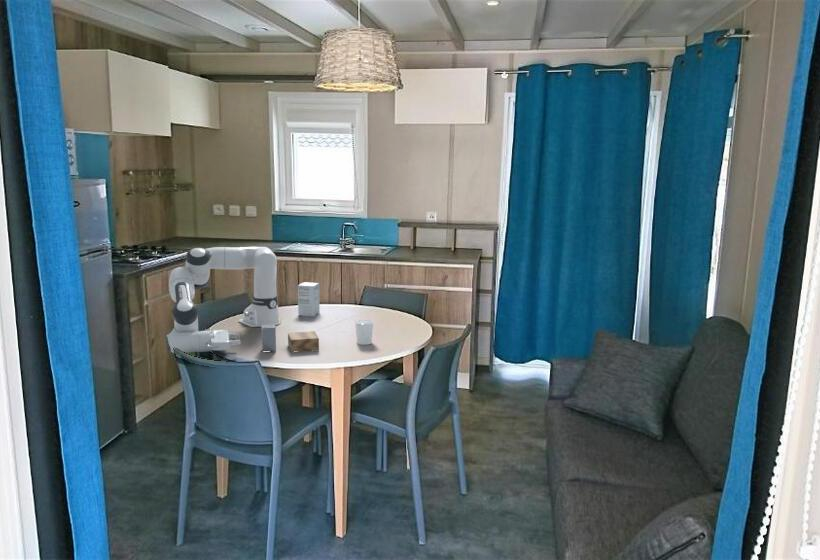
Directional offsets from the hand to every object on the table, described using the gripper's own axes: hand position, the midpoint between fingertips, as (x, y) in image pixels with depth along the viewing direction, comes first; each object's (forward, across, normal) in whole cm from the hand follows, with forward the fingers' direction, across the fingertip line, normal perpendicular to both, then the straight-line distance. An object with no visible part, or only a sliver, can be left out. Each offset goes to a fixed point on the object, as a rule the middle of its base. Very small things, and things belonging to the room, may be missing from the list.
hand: (240, 338), depth 277 cm
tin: (+12, 0, +6) cm, 14 cm away
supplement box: (+39, +64, +6) cm, 75 cm away
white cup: (+55, +1, +6) cm, 56 cm away
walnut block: (+27, 0, +6) cm, 28 cm away
